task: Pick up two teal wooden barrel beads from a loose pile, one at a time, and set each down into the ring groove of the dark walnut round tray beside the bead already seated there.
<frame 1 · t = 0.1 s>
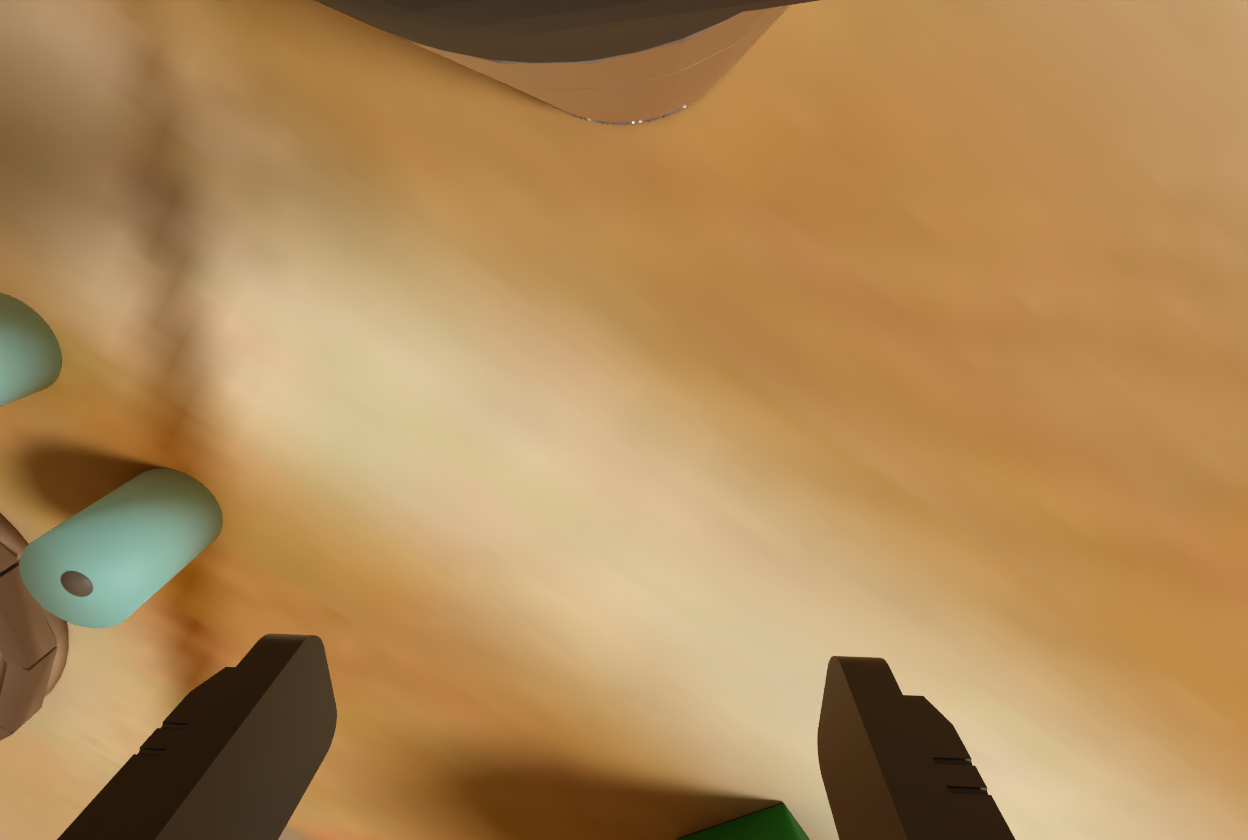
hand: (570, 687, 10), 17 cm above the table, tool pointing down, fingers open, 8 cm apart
bead a: (8, 343, 27), on the table
bead b: (175, 509, 30), on the table
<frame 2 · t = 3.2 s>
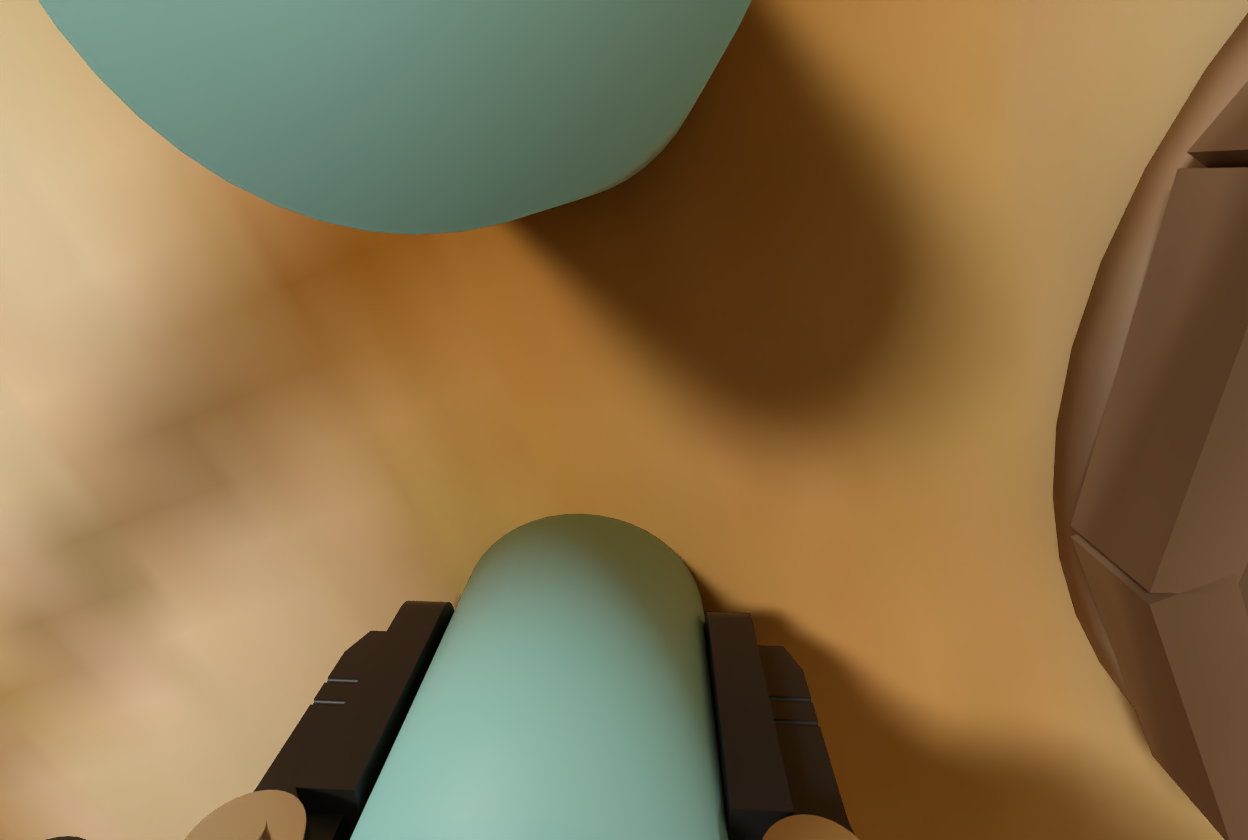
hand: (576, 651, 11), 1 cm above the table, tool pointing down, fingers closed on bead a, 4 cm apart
bead a: (583, 619, 12), on the table, touching gripper
bead b: (544, 22, 8), on the table
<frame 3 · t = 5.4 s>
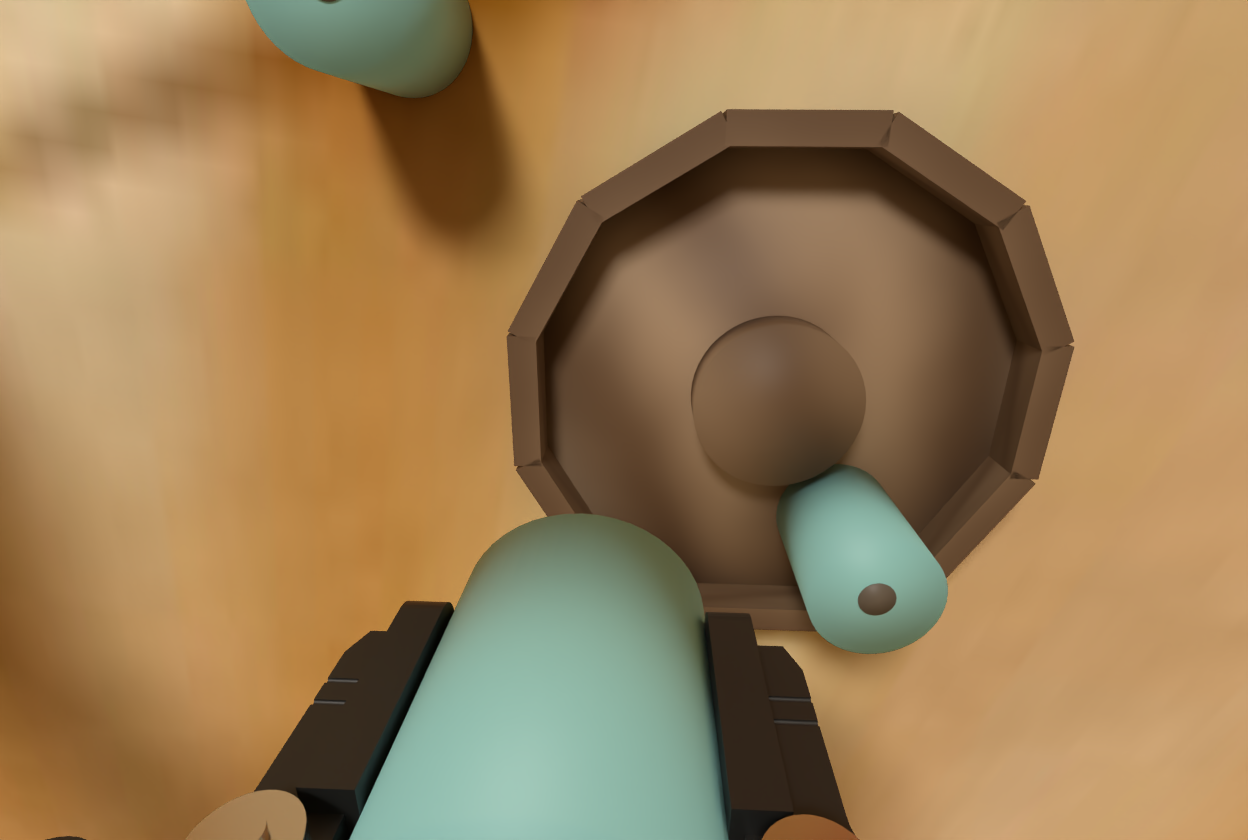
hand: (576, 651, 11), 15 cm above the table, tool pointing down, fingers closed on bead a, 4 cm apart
bead c: (831, 513, 25), point 1 cm above the table, touching ring tray
bead a: (583, 619, 12), point 14 cm above the table, touching gripper
bead b: (406, 23, 21), on the table
ring tray: (766, 386, 25), on the table
when the fingers open (3 cm above the table, at t = 7.9 s): bead a drops 1 cm, resting on ring tray.
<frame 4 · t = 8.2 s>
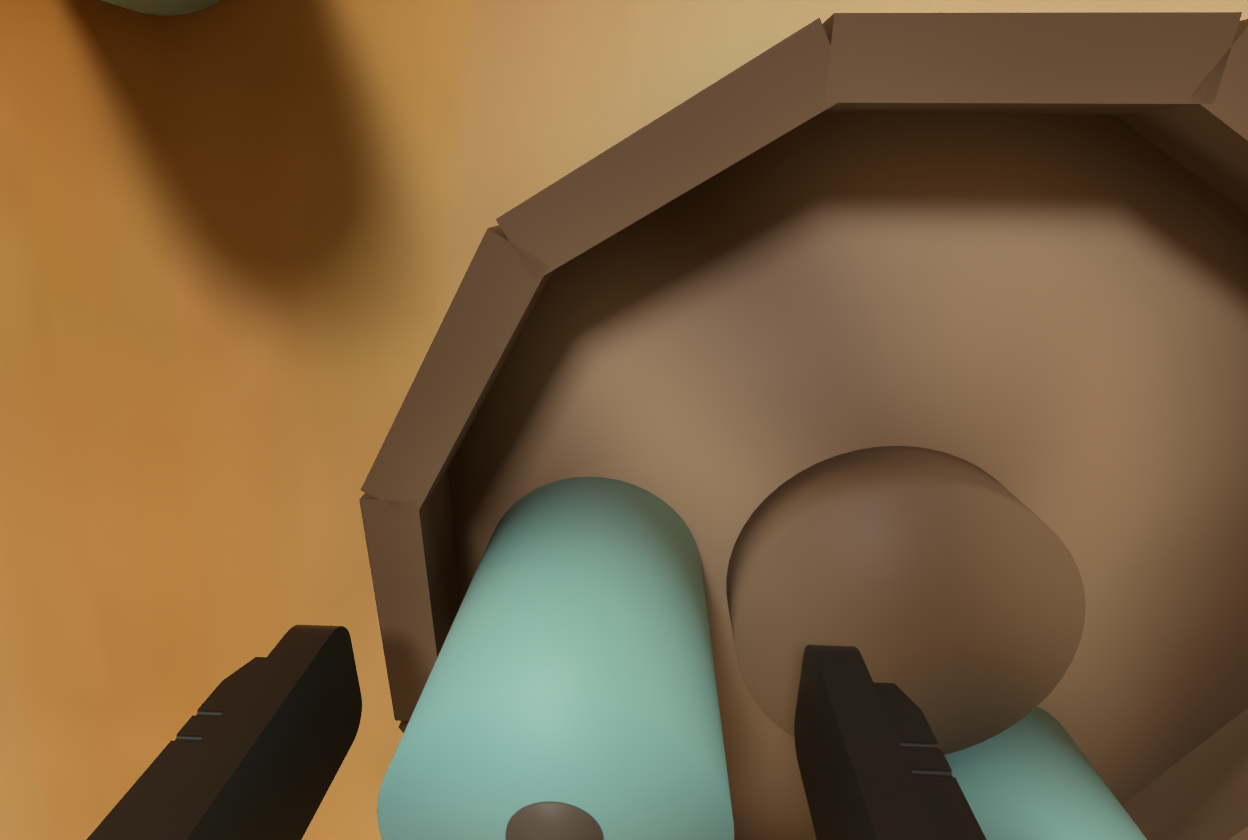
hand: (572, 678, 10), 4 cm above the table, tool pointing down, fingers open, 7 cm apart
bead c: (971, 770, 14), point 1 cm above the table, touching ring tray
bead a: (593, 573, 13), point 1 cm above the table, touching ring tray
ring tray: (861, 555, 14), on the table
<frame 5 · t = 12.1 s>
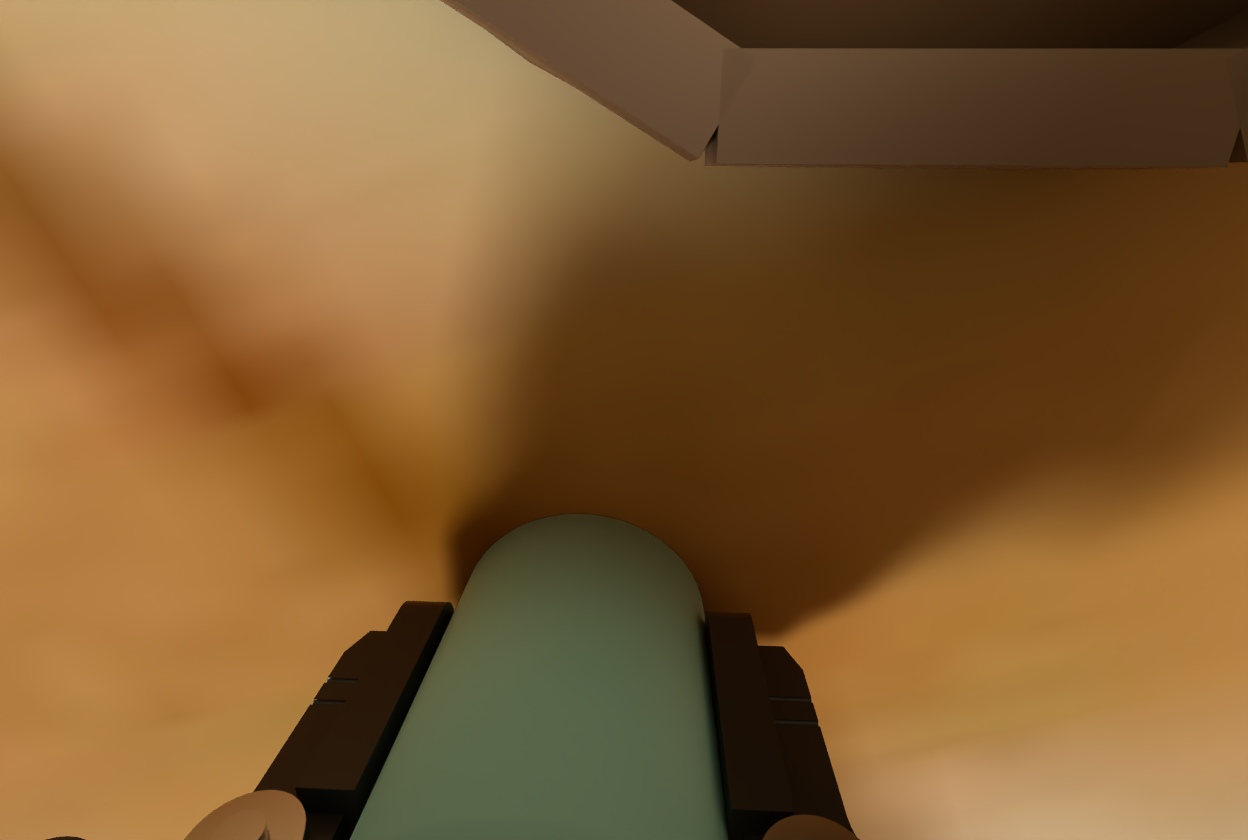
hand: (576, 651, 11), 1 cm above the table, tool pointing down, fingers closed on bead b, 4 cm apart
bead b: (583, 619, 12), on the table, touching gripper
when the fingers open (3 cm above the table, at t = 17.0 s): bead b drops 1 cm, resting on ring tray.
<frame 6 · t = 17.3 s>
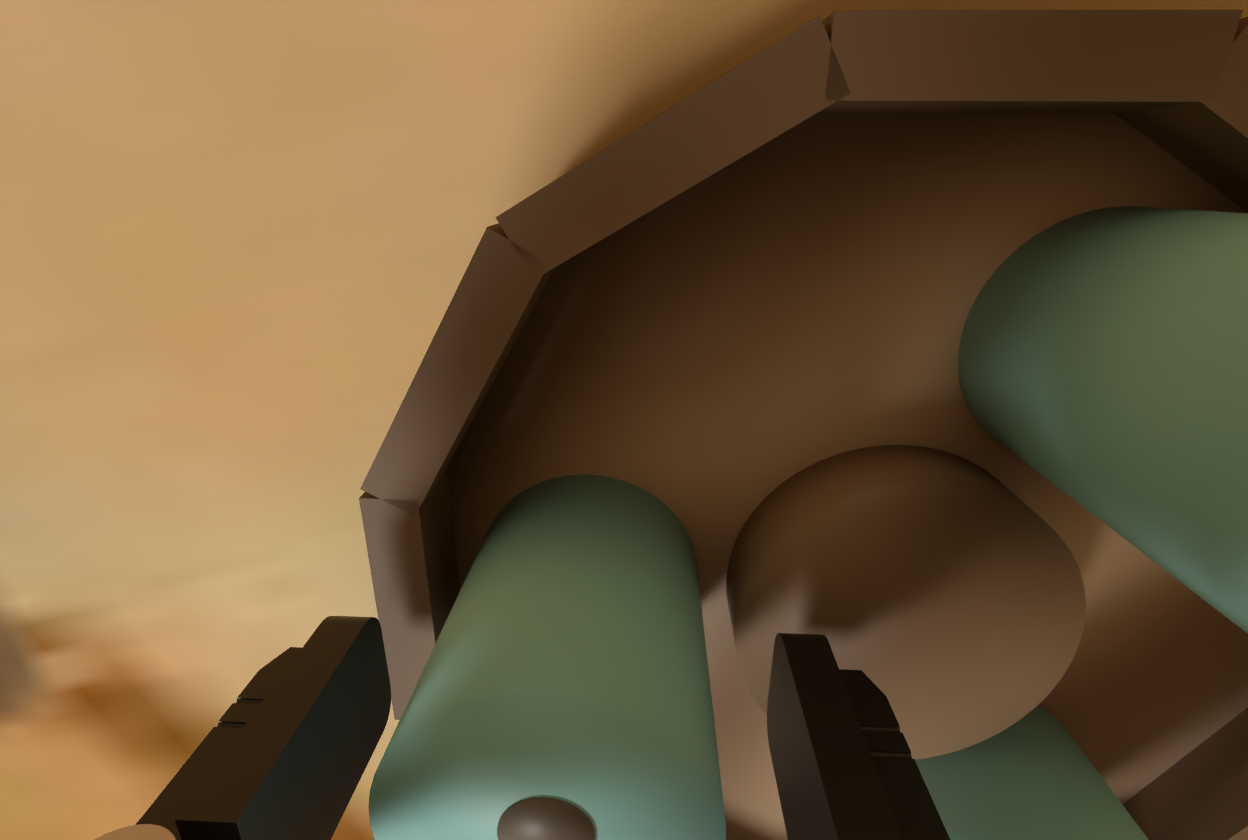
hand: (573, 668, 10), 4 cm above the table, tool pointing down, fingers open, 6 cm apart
bead c: (1091, 342, 11), point 1 cm above the table, touching ring tray
bead a: (970, 768, 14), point 1 cm above the table, touching ring tray
bead b: (588, 571, 13), point 1 cm above the table, touching ring tray
ring tray: (861, 554, 14), on the table
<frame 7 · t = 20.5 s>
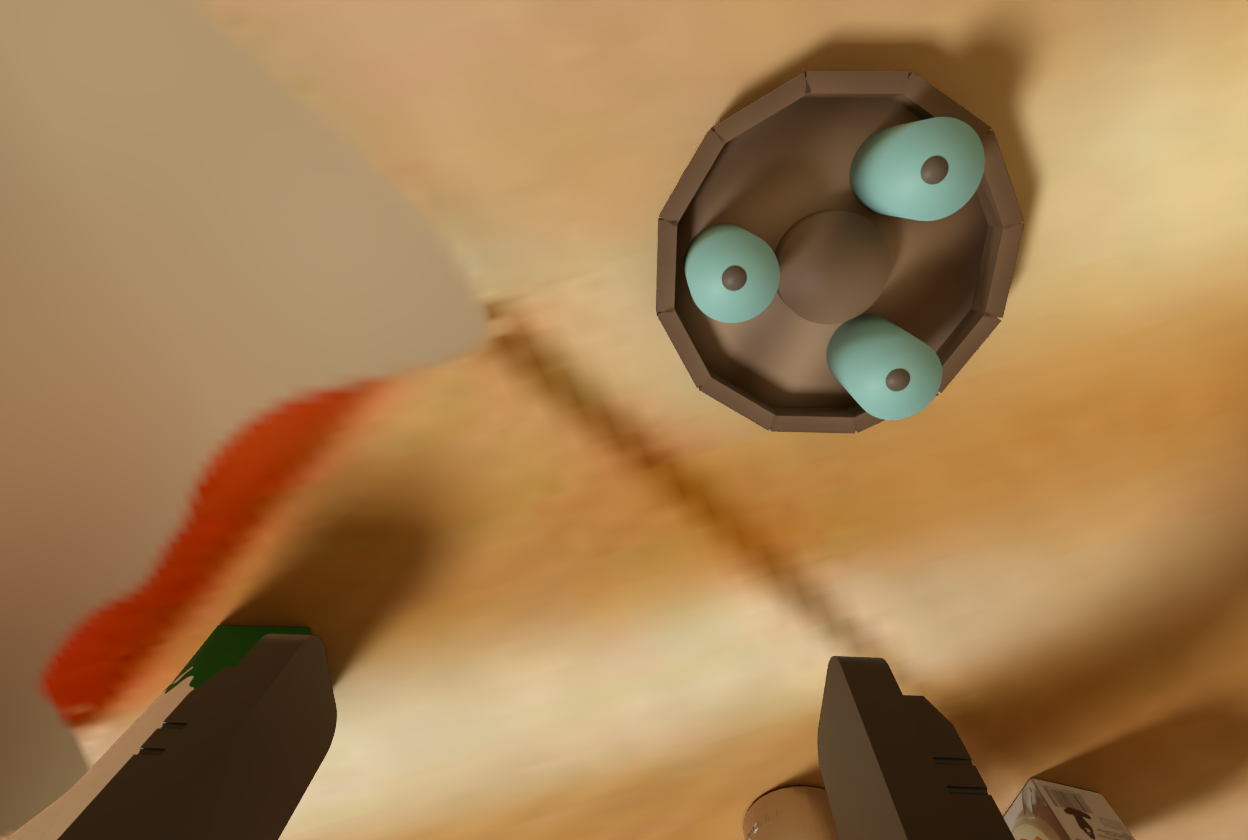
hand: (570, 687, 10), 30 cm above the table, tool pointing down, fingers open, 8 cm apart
bead c: (891, 171, 34), point 1 cm above the table, touching ring tray
coffee box: (1037, 819, 52), on the table
bead a: (864, 351, 37), point 1 cm above the table, touching ring tray
bead b: (722, 263, 36), point 1 cm above the table, touching ring tray
milk carton: (273, 659, 49), on the table
ring tray: (821, 263, 37), on the table
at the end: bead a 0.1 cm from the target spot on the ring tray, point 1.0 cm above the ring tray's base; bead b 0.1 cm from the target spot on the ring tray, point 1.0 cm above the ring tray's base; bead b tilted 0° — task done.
